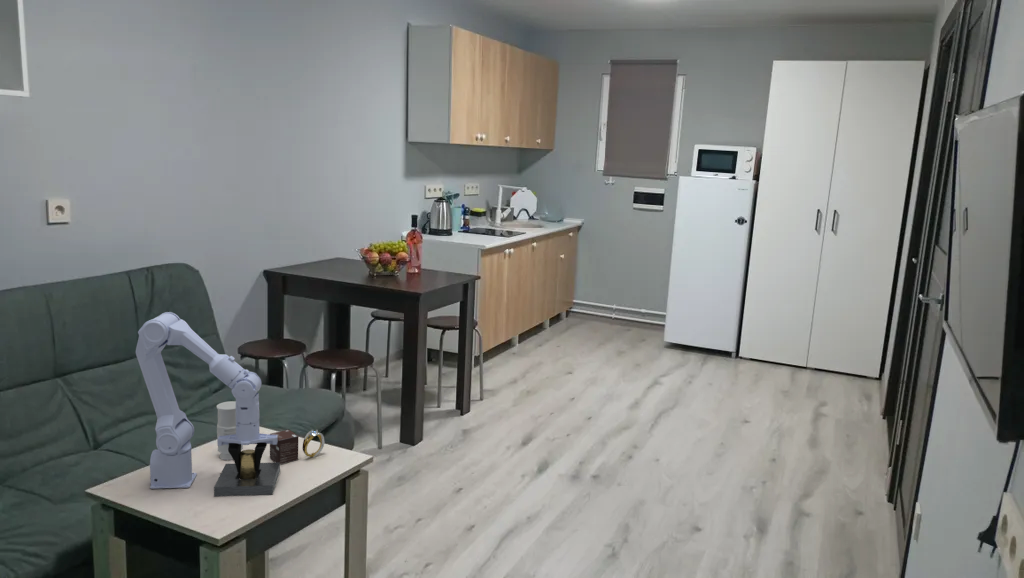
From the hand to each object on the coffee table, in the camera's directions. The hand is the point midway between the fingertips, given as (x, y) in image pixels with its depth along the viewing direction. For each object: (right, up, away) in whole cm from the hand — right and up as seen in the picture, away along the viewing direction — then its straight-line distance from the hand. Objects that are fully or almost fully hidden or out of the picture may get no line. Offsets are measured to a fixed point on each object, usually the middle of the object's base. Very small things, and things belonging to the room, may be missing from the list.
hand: (248, 470), depth 187 cm
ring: (+12, -1, +19) cm, 22 cm away
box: (+4, -1, +17) cm, 17 cm away
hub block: (0, -4, +1) cm, 4 cm away
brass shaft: (0, -2, 0) cm, 2 cm away
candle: (-11, 0, +17) cm, 20 cm away
